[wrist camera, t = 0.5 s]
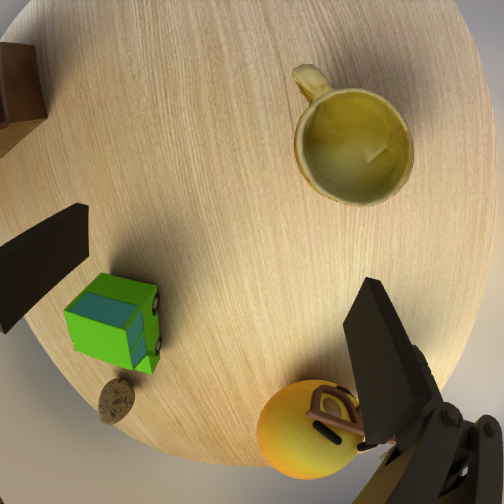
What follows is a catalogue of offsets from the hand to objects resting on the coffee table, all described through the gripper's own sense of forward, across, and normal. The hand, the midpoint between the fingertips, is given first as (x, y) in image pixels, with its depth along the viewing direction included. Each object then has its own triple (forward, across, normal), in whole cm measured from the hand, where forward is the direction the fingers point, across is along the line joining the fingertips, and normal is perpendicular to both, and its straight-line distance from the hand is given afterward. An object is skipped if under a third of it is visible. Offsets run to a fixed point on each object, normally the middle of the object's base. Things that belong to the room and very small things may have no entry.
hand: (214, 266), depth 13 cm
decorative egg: (+18, -14, -39) cm, 45 cm away
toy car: (+18, -12, -21) cm, 30 cm away
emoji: (+18, +16, -28) cm, 36 cm away
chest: (+18, -37, +6) cm, 41 cm away
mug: (+18, +6, +7) cm, 21 cm away
